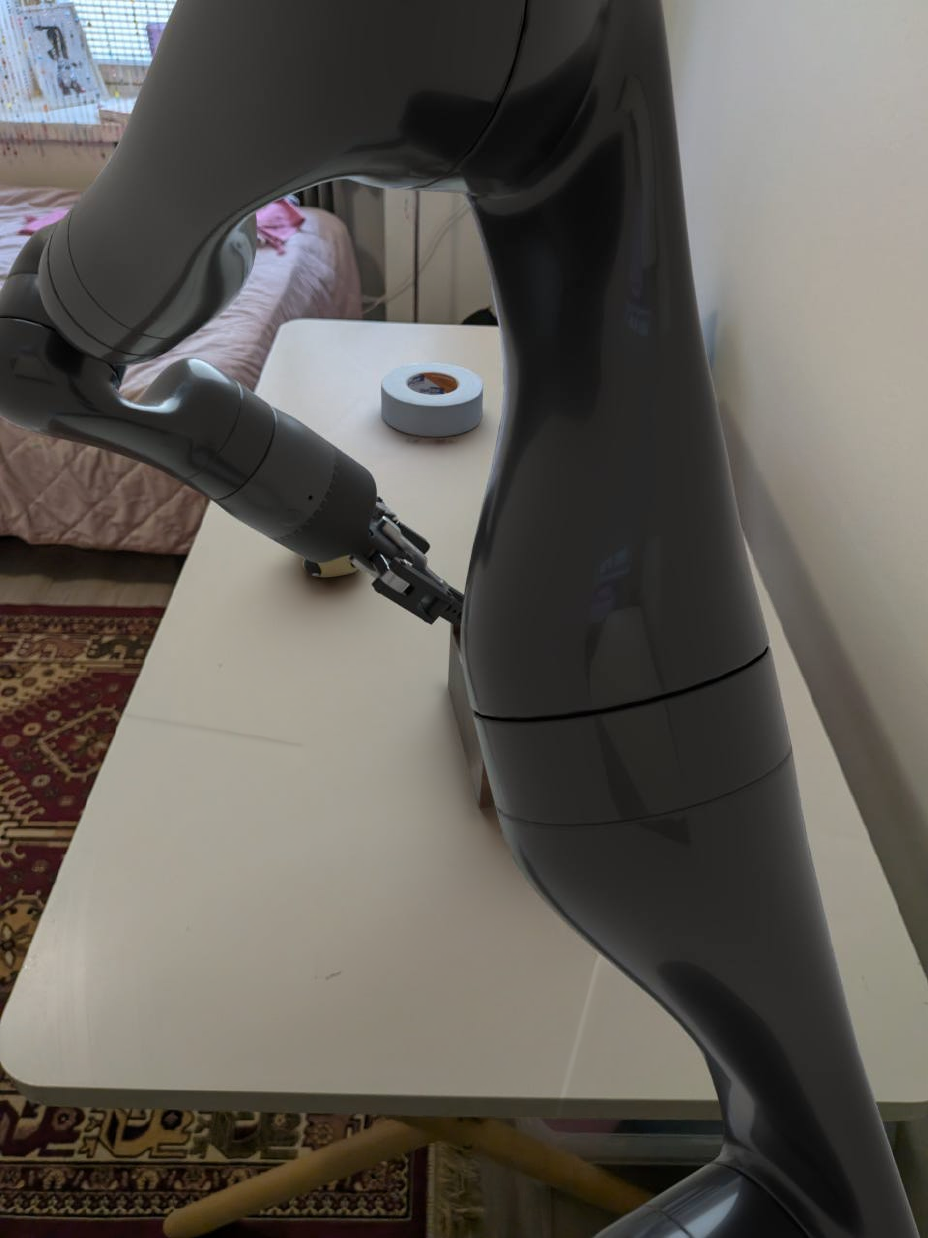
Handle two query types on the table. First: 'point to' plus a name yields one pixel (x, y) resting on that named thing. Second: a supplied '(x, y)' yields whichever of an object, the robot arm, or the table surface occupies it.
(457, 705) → the shelf
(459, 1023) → the table surface
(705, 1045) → the robot arm
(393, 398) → the tape roll
